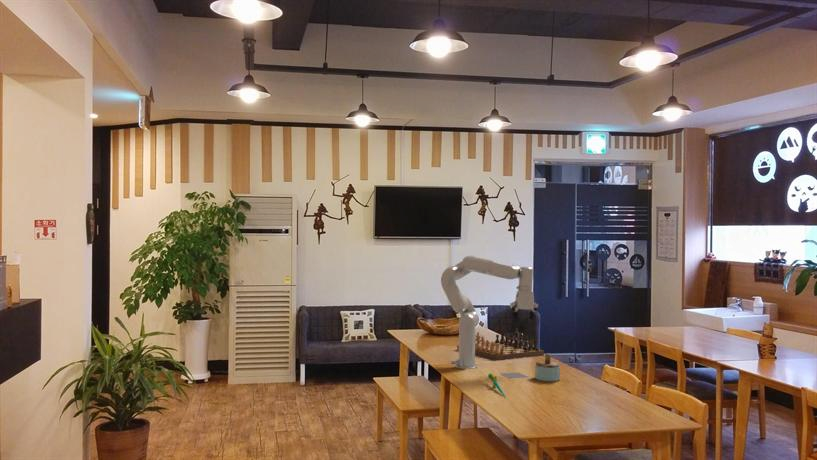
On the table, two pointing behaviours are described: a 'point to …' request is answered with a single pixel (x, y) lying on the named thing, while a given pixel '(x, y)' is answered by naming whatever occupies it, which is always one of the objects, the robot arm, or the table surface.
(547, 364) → the lid
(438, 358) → the table surface
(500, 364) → the table surface
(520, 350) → the chess set
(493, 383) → the toy sword
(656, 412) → the table surface
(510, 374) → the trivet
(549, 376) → the bowl
